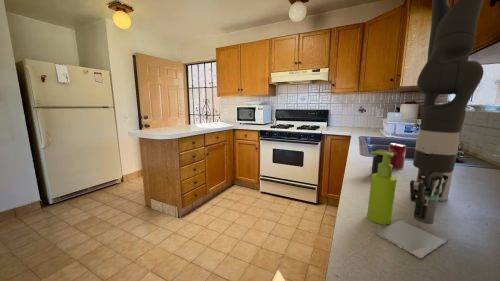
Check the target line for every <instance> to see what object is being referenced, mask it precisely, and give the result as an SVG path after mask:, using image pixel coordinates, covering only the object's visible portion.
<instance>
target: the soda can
mask: <svg viewBox="0 0 500 281" xmlns="http://www.w3.org/2000/svg"><path fill="white" fill-rule="evenodd" d="M388 151H389V153H393V157H390V164H391V165H393V168H392V169H395V170H402V169H404V166H405V159H406V153H407V145H406V144H403V143H395V142H394V143H393V142H391V143H390V144H389V146H388Z"/></svg>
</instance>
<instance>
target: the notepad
mask: <svg viewBox="0 0 500 281" xmlns="http://www.w3.org/2000/svg"><path fill="white" fill-rule="evenodd" d="M376 234H378V235H380V236H382V237H383V238H386V239H387V240H389V241H391V242H393V243H395V244H397V245H399V246H401V247H402V248H405V249H406V250H408V251H411V252H413V251H414V250H416V249H417V250H419V249H420V248H421V249H422V248H426V247H427V248H428V245H429V247H431V245H434V247H435V245H436V247H437V245H438V246H439V245H440V244H442V243H443V242H445V241H446V240H448V241H449V239H448V238H447V237H444V236H442V235H440V234H437V233H436V232H433V231H431V230H429V229H427V228H424V227H422V226H419V225H417V224H415V223H413V222H410V221H409V220H406V219H404V218H402V219H400V220H399V221H396V222H394V223H392V224H389V225H387V226H385V227H384V228H381V229H379V230H377V231H375V235H376ZM378 235H377V236H378ZM380 236H379V237H380ZM383 238H382V239H383ZM387 240H386V241H387ZM417 250H416V251H417Z"/></svg>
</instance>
